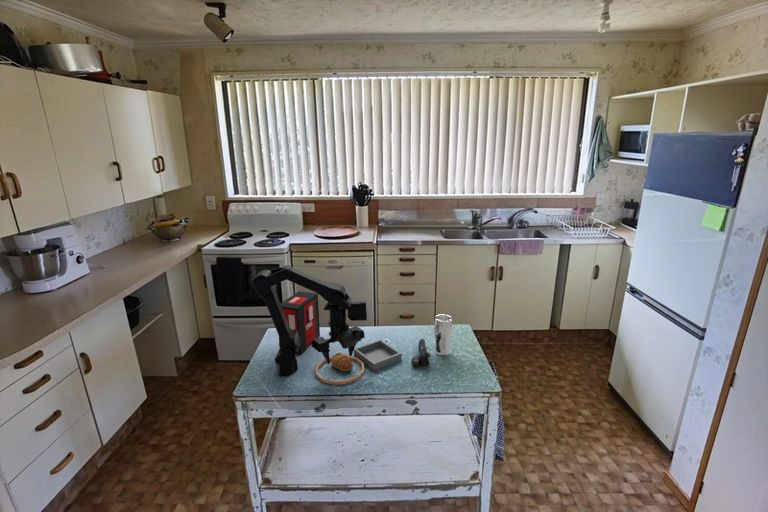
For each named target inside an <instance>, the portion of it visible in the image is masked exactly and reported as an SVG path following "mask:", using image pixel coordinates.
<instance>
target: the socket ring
mask: <svg viewBox="0 0 768 512" xmlns="http://www.w3.org/2000/svg"><path fill="white" fill-rule="evenodd" d="M346 355H347V356H348V357H349V358H350V359H351V361H355V362H356V363H357V364H359V365H360V366H361V370H360V371H359V372H358V374H357V375H355V376H352V377H350V378H347V379H337V380H333V379H331V378H330V379H329V378H326V377H323V376H322V375H321V374H320V373H319V369H320V368H321V367H322V366H323V365H324V364H327V362H326V360H325V358H323V359H322V360H321V361H319V363H317V365H316V366H315V377H317V378H318V380H320V381H321V382H322V383H325V384H330V385H335V386H337V385H347V384H350V383H352V382H355V381H358V380H359V379H361V378H362V376H363V375H364V373H365V364H364V363H363V362H362V361H361V360H359V359H358V358H357V357H355V356H353V355H352V356H349V354H346ZM332 357H333V355H332V356H329V359H330V362H331V358H332Z"/></svg>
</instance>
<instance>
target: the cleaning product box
mask: <svg viewBox="0 0 768 512" xmlns="http://www.w3.org/2000/svg"><path fill="white" fill-rule="evenodd" d="M280 304H281V306H282V309H283V311H284V314H285V316H286V319H287V321H288V324H289V327H290V329H291V330H292V331H293V332H295V331H298V335H299V337H300V338H301V341H300V346H299V349H298V351H297V354H296V356H297V355H298V356H302V355H303V353H305V352H306V350H308V349H309V348H310V346H312V341H313V339H316V338H319V337H321V331H320V330H321V329H320V327H321V326H320V313H319V311H320V310H319V294H318V293H316V292H310V291H296V293H294V294H292V295H291V296H290V297H288V298H286V299H285V300H284V301H282V302H280Z"/></svg>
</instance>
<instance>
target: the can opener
mask: <svg viewBox="0 0 768 512" xmlns="http://www.w3.org/2000/svg"><path fill="white" fill-rule="evenodd" d="M418 352H419V355H415V356H412V358H411V364H412V366H413V367H421V365H422V366H428V365H429V364H430V357H431V353H430V352H427V347H426V341H425V339H424V338H421V339H420V340H419V341H418Z"/></svg>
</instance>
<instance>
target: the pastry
mask: <svg viewBox="0 0 768 512" xmlns="http://www.w3.org/2000/svg"><path fill="white" fill-rule="evenodd" d="M347 355H348V354H345V353H342V352H336V353H335V354H334V355H332V356H333V357H332V356H331V357H332V358H331V361H330V364H331V365H332V366H333V367H334V368H335V369H337V370H340V371H342V372H349V371H350V370H352V369H353V367H354V364H353V360H351V359H350V358H349V357H348V356H349V355H348V356H347Z"/></svg>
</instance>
